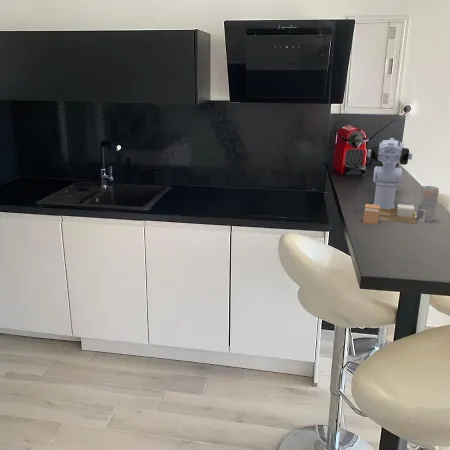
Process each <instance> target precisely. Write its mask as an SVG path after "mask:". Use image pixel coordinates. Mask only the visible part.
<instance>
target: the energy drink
mask: <svg viewBox="0 0 450 450" xmlns="http://www.w3.org/2000/svg"><path fill="white" fill-rule="evenodd" d="M439 192H440V191H439V187H436V186H431V185H424V186H422V187H421V190H420V197H419V203H418V211H417V216H416V217H417V219H416V221H418V222H421V223H427V224H428V223H429V224H430V223H431V224H432V223H434V222H435V217H436V210H437V205H438V199H439Z"/></svg>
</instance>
